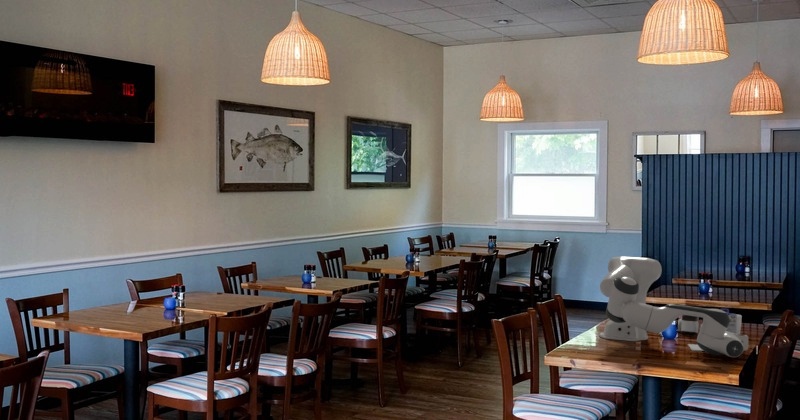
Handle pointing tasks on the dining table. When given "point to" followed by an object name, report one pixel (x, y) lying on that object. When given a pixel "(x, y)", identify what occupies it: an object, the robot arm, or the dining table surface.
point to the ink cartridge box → (731, 321)
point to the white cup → (738, 324)
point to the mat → (695, 347)
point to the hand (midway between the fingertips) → (720, 336)
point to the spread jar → (688, 324)
